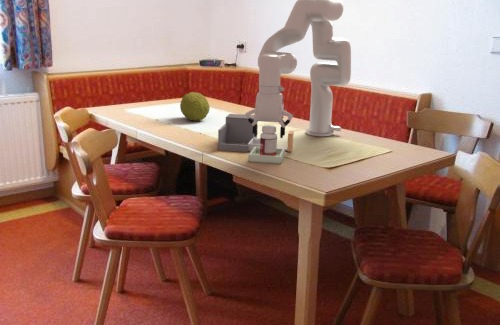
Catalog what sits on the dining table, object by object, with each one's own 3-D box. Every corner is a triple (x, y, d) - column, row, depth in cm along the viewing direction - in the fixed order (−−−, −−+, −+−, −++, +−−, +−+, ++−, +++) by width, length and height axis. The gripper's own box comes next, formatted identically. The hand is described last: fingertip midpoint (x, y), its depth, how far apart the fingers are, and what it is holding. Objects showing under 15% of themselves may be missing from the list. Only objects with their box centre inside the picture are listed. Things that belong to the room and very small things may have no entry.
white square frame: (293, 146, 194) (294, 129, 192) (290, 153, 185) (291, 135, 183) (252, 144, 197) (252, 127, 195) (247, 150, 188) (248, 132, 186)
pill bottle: (258, 154, 181) (259, 124, 178) (274, 154, 182) (275, 124, 179) (261, 159, 175) (261, 128, 172) (277, 158, 176) (278, 128, 173)
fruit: (217, 120, 240) (210, 96, 230) (191, 132, 237) (183, 108, 227) (205, 105, 251) (197, 81, 241) (180, 116, 248) (171, 92, 238)
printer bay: (256, 139, 205) (257, 115, 202) (247, 152, 186) (248, 125, 183) (229, 137, 207) (230, 113, 204) (218, 150, 188) (218, 123, 185)
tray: (284, 155, 183) (284, 148, 182) (280, 164, 172) (280, 157, 171) (254, 153, 185) (254, 146, 184) (248, 161, 174) (248, 154, 173)
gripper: (294, 89, 173) (293, 135, 179) (247, 87, 176) (247, 132, 182) (292, 92, 166) (291, 140, 172) (243, 90, 169) (243, 137, 175)
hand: (268, 136), depth 177 cm, fingers open, 9 cm apart
